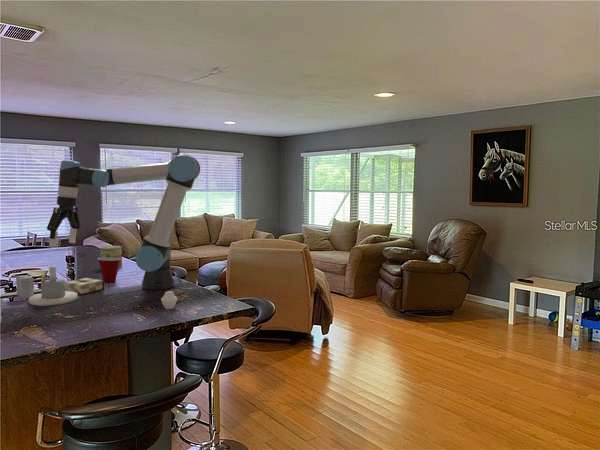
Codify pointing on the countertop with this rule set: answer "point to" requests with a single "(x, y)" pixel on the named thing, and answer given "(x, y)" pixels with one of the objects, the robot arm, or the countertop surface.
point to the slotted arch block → (84, 285)
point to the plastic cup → (109, 268)
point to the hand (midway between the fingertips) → (62, 244)
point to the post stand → (52, 291)
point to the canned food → (112, 253)
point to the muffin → (169, 300)
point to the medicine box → (24, 286)
